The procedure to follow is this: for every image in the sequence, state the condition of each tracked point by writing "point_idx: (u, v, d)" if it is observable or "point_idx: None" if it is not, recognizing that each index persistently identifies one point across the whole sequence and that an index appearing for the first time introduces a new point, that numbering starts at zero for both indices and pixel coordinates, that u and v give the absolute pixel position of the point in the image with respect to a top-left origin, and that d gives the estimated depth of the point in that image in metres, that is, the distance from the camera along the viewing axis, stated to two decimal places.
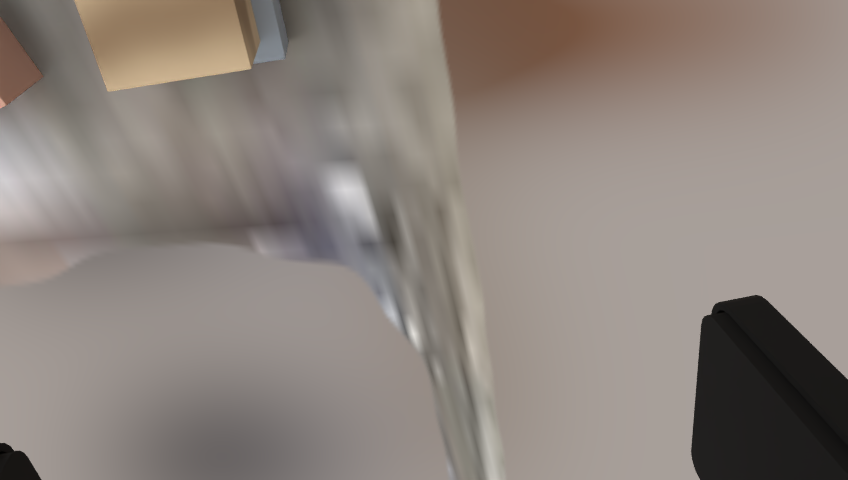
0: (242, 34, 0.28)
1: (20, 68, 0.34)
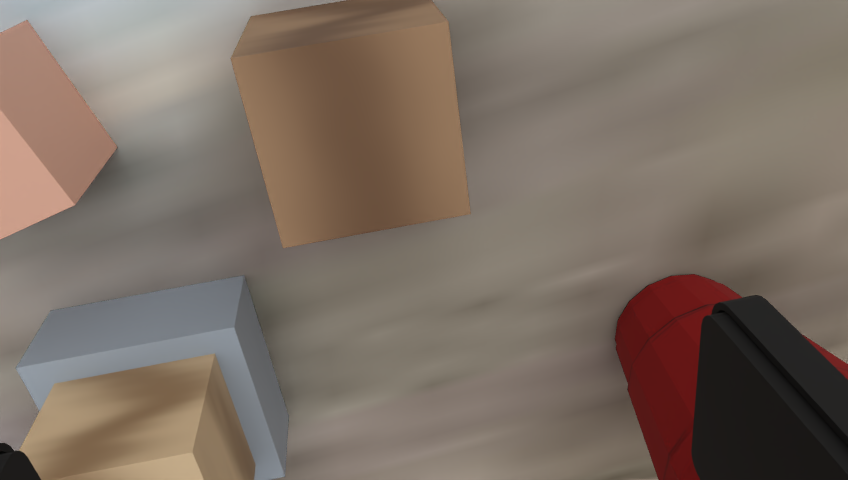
0: None
1: None
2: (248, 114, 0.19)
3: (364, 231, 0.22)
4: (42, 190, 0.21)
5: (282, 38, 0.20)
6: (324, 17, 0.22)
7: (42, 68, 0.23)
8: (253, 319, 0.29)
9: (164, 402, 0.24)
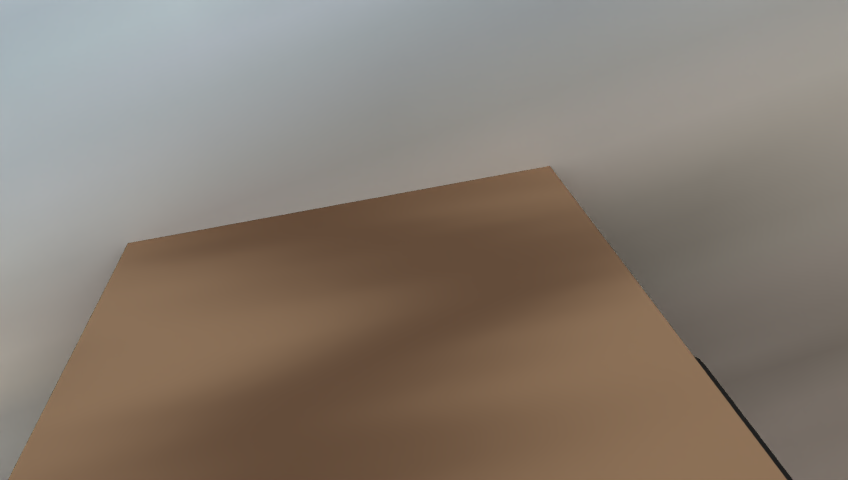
0: None
1: None
2: None
3: None
4: None
5: None
6: (309, 309, 0.07)
7: None
8: None
9: None
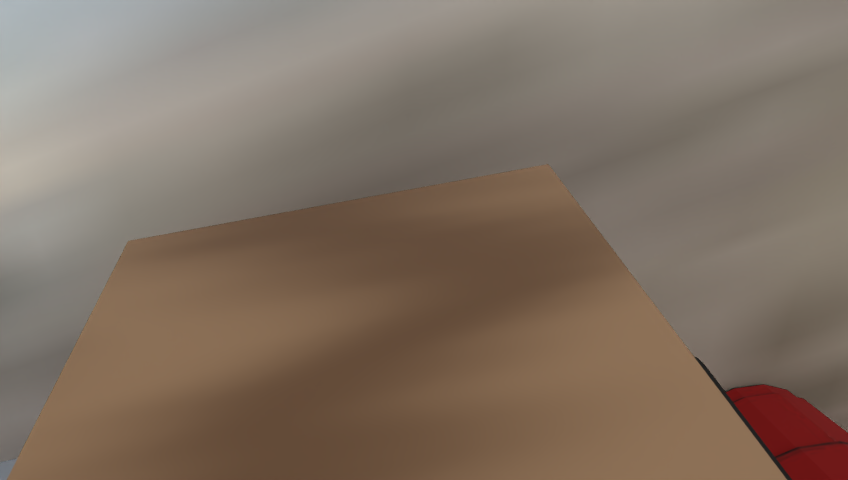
0: None
1: None
2: None
3: None
4: None
5: None
6: (308, 306, 0.07)
7: None
8: None
9: None
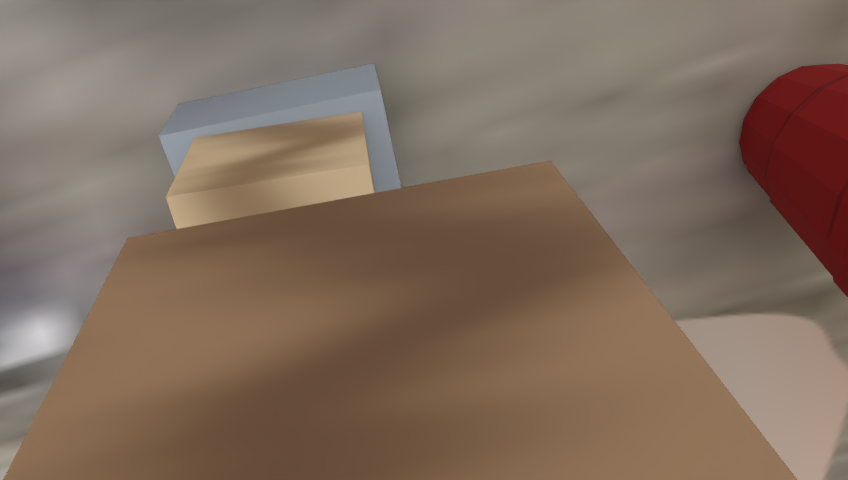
0: None
1: None
2: None
3: None
4: None
5: (154, 478, 0.06)
6: (309, 303, 0.07)
7: None
8: None
9: (322, 140, 0.23)
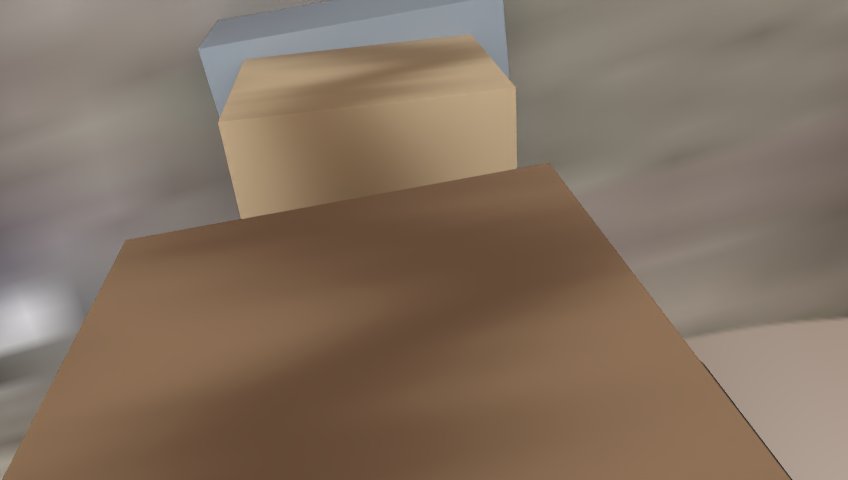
0: None
1: None
2: None
3: None
4: None
5: None
6: (306, 306, 0.07)
7: None
8: None
9: (430, 62, 0.16)
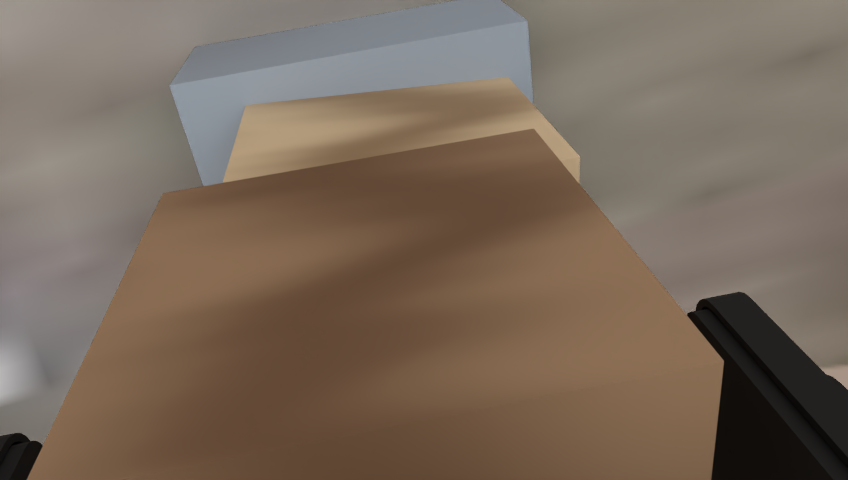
0: None
1: None
2: None
3: None
4: None
5: (206, 360, 0.07)
6: (325, 238, 0.09)
7: None
8: None
9: (467, 115, 0.14)
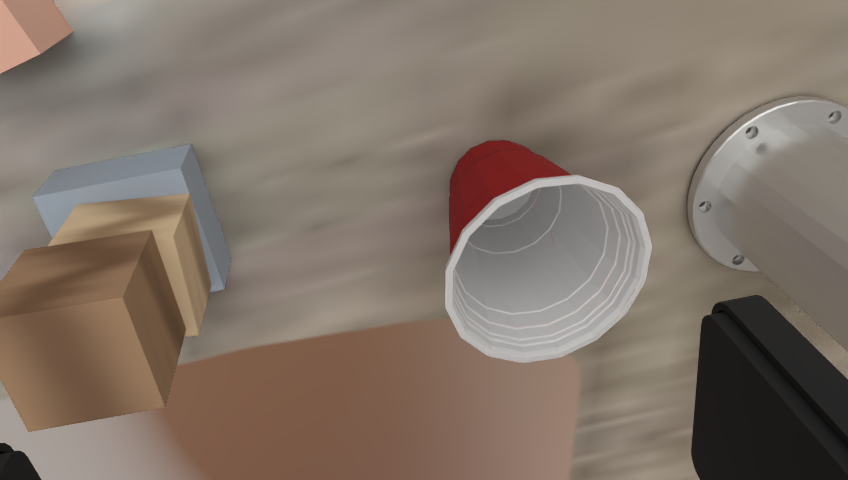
0: None
1: None
2: None
3: (87, 420, 0.31)
4: (18, 42, 0.32)
5: (17, 297, 0.29)
6: (63, 267, 0.31)
7: None
8: (198, 175, 0.40)
9: (154, 214, 0.36)
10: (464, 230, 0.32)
